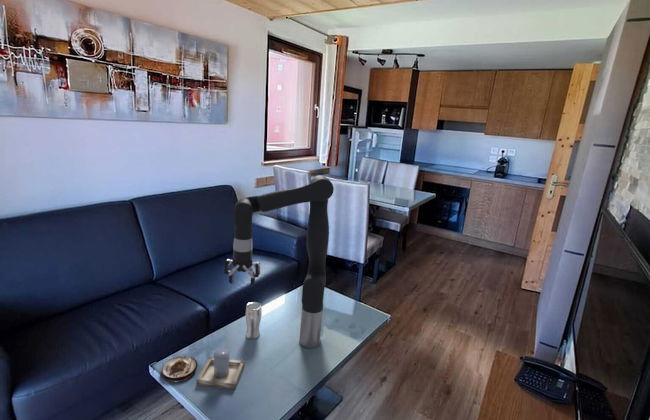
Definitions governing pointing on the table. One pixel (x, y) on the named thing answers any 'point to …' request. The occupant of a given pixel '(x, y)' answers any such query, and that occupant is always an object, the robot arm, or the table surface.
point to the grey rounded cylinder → (221, 363)
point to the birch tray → (228, 382)
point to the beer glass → (253, 319)
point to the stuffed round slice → (179, 368)
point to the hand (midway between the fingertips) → (241, 284)
